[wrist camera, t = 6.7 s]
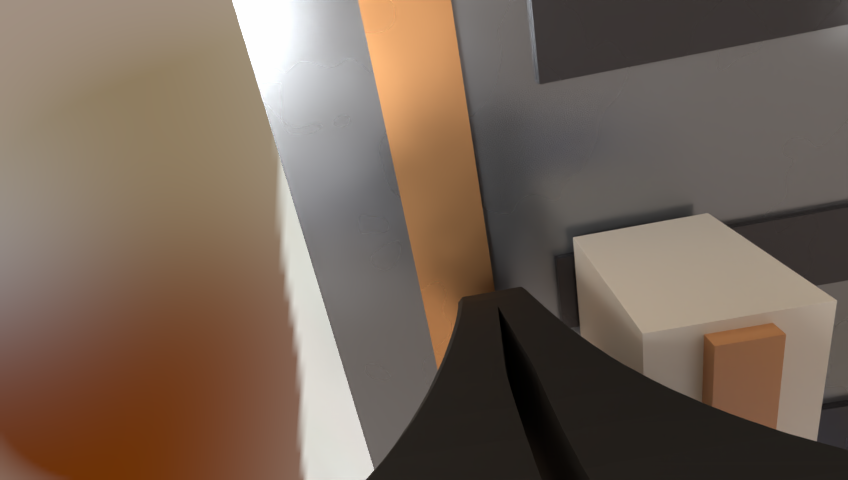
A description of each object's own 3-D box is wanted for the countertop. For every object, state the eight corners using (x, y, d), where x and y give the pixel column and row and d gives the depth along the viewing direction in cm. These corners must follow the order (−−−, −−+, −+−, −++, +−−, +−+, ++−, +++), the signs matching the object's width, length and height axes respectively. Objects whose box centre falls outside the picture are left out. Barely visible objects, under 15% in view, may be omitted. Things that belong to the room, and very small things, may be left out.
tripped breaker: (704, 326, 12) (829, 460, 8) (581, 347, 12) (653, 486, 9) (707, 212, 11) (853, 311, 7) (572, 237, 11) (651, 345, 8)
